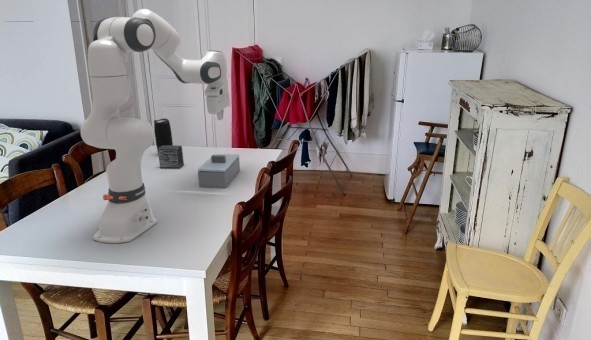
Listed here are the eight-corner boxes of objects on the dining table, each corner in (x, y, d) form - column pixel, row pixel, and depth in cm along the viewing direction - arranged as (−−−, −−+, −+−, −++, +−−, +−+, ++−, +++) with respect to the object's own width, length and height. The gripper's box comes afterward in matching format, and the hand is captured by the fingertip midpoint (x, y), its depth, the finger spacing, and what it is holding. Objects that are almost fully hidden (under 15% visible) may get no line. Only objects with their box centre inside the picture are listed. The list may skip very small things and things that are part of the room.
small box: (184, 164, 211) (182, 144, 207) (180, 168, 205) (177, 148, 201) (164, 164, 212) (162, 144, 208) (159, 168, 206) (156, 148, 202)
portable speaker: (168, 151, 232) (163, 117, 226) (177, 154, 226) (173, 119, 220) (154, 154, 226) (149, 120, 220) (163, 158, 221) (158, 122, 214)
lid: (224, 172, 175) (224, 163, 174) (198, 170, 177) (197, 162, 175) (239, 156, 195) (238, 148, 194) (215, 155, 197) (214, 147, 196)
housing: (226, 190, 177) (224, 173, 175) (199, 189, 179) (197, 171, 177) (240, 172, 198) (239, 156, 195) (216, 171, 200) (214, 156, 197)
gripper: (218, 85, 190) (221, 114, 195) (202, 92, 171) (205, 124, 176) (231, 85, 189) (234, 114, 194) (217, 92, 170) (220, 125, 175)
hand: (220, 119), depth 185 cm, fingers closed
